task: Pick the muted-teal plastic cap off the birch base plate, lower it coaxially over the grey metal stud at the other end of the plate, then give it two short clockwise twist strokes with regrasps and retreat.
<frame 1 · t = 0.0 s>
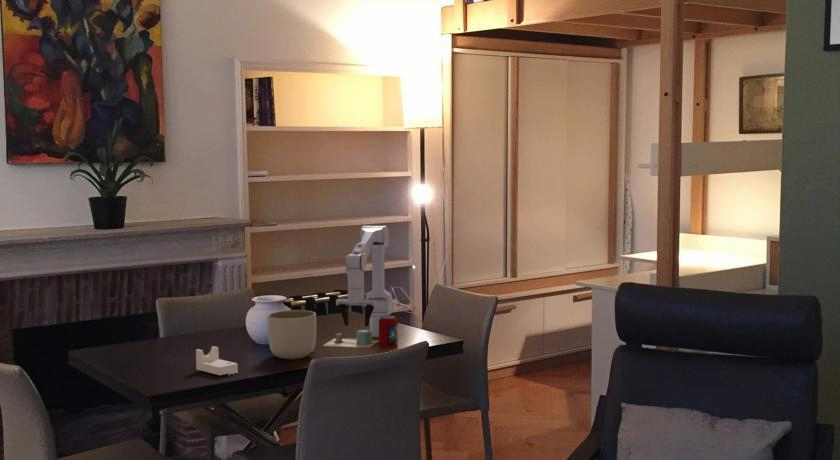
hand: (356, 325, 339), 10 cm above the table, fingers open, 7 cm apart
cap: (364, 343, 352), point 1 cm above the table, touching stud plate
bracket: (217, 373, 315), on the table
stud plate: (351, 345, 353), on the table
beverage can: (388, 349, 347), on the table
planter: (292, 357, 337), on the table
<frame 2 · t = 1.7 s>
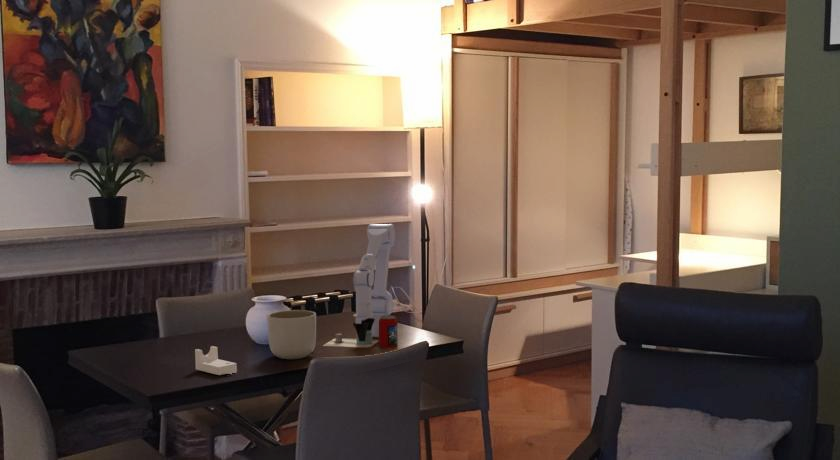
hand: (364, 339, 352), 3 cm above the table, fingers closed on cap, 5 cm apart
cap: (364, 343, 352), point 1 cm above the table, touching gripper, stud plate
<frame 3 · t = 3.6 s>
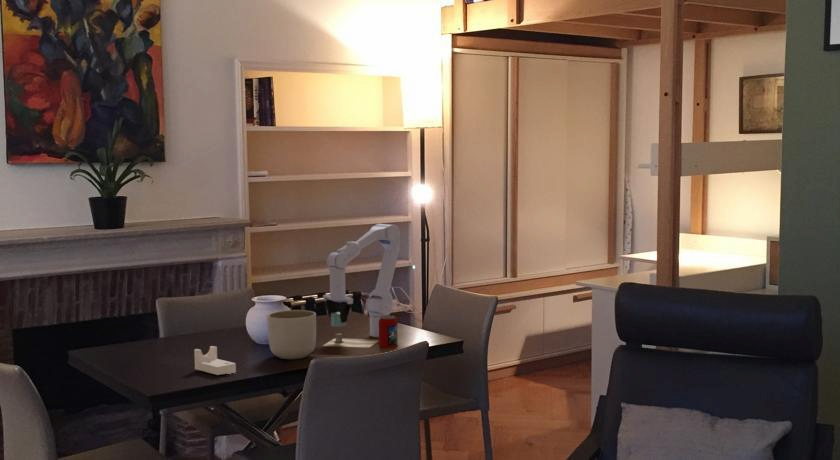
hand: (338, 321, 354), 9 cm above the table, fingers closed on cap, 5 cm apart
cap: (338, 325, 354), point 8 cm above the table, touching gripper
when the fingers open (4 cm above the table, at t = 5.3 s): cap drops 1 cm, resting on stud plate.
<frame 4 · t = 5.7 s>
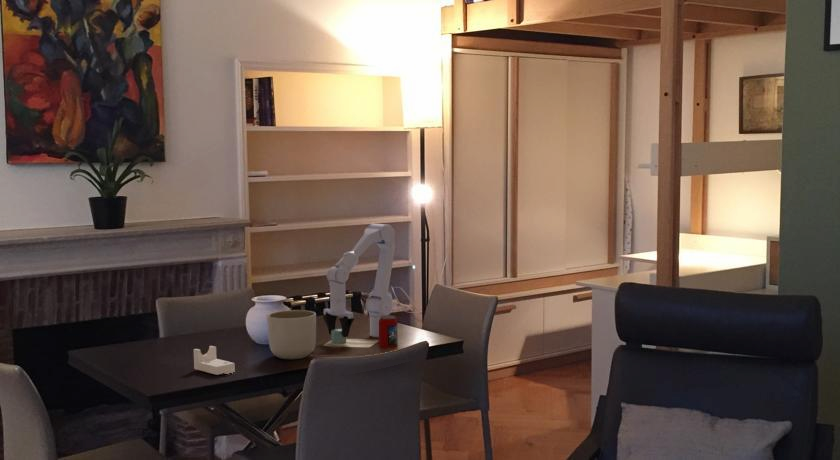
hand: (338, 335, 354), 4 cm above the table, fingers open, 7 cm apart
cap: (338, 342, 355), point 1 cm above the table, touching stud plate
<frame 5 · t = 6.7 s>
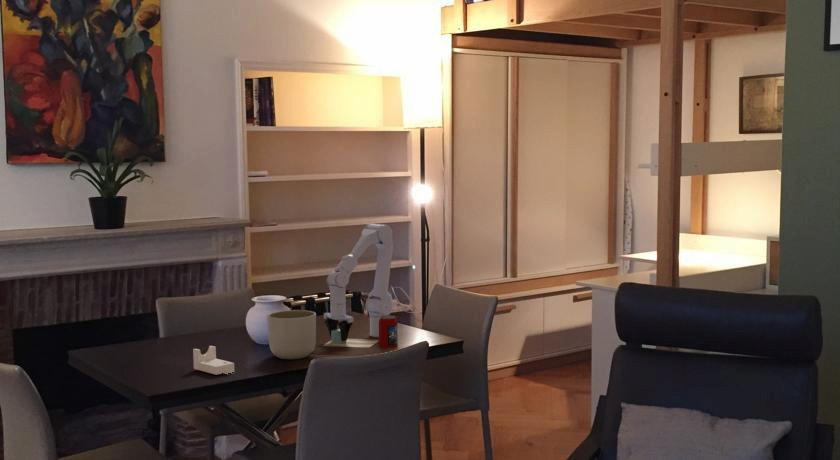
hand: (338, 339, 354), 2 cm above the table, fingers closed on cap, 5 cm apart
cap: (339, 342, 355), point 1 cm above the table, touching gripper
when the fingers open (3 cm above the table, at t = 8.2 s): cap stays where it is, resting on stud plate.
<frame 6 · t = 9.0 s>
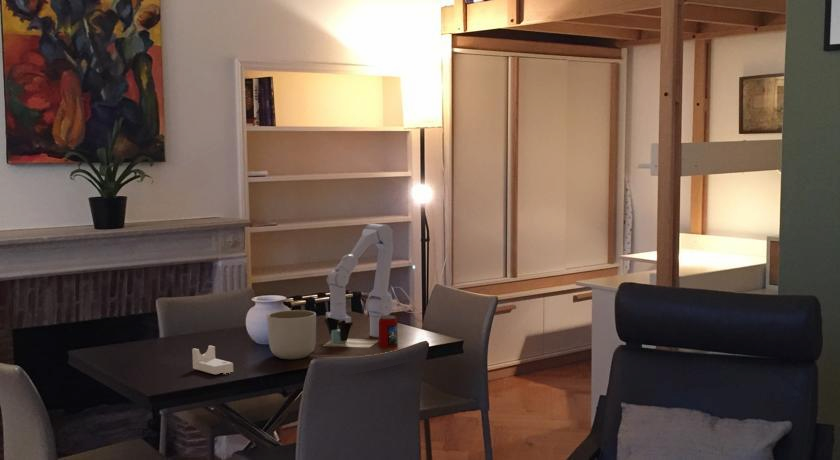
hand: (338, 339, 354), 2 cm above the table, fingers open, 7 cm apart
cap: (338, 342, 354), point 1 cm above the table, touching stud plate
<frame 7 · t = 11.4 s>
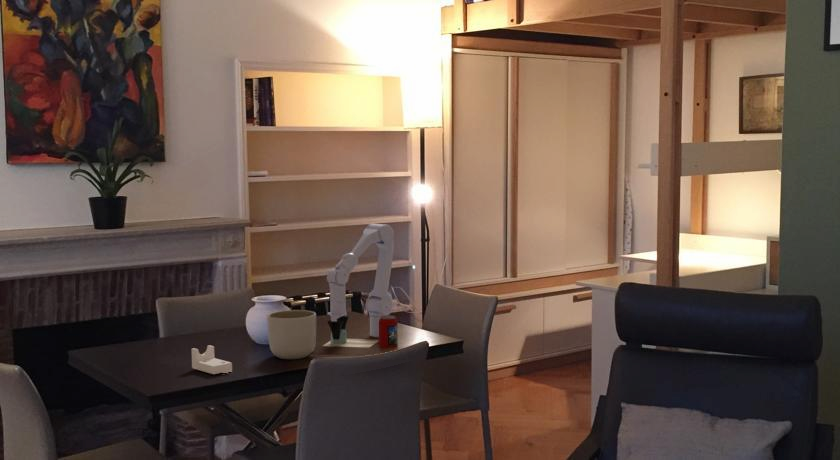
hand: (338, 337, 354), 3 cm above the table, fingers open, 7 cm apart
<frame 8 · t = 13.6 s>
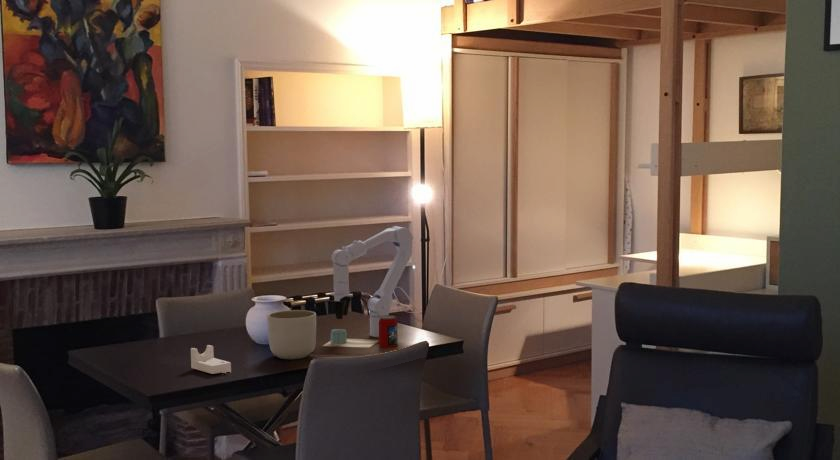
hand: (341, 317, 361), 9 cm above the table, fingers open, 7 cm apart
at the end: cap 0.0 cm from the target spot on the stud plate, point 1.2 cm above the stud plate's base; cap tilted 0°; the gripper is holding nothing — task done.
